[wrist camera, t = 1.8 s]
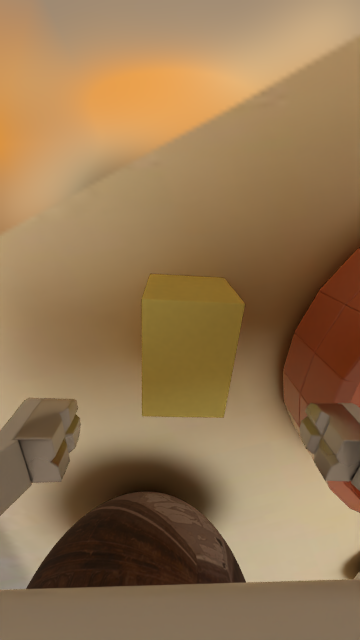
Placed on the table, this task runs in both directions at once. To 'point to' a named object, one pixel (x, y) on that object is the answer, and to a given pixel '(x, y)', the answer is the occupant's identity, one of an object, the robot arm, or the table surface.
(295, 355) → the bowl
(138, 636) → the robot arm
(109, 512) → the wooden sphere
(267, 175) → the table surface
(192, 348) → the sponge
